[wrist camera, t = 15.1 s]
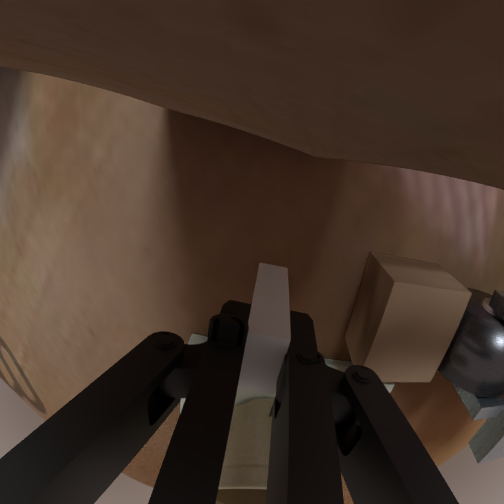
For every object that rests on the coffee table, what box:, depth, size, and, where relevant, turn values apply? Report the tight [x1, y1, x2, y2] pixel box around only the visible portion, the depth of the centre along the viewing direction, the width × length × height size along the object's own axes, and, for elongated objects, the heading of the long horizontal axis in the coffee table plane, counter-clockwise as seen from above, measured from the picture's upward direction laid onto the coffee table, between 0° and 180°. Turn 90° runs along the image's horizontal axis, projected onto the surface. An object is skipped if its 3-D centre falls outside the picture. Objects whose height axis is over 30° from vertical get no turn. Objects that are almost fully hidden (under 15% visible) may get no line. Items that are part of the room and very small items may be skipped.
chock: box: [345, 252, 472, 382], centre depth 16 cm, size 6×5×4 cm
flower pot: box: [215, 398, 274, 504], centre depth 17 cm, size 9×9×9 cm
